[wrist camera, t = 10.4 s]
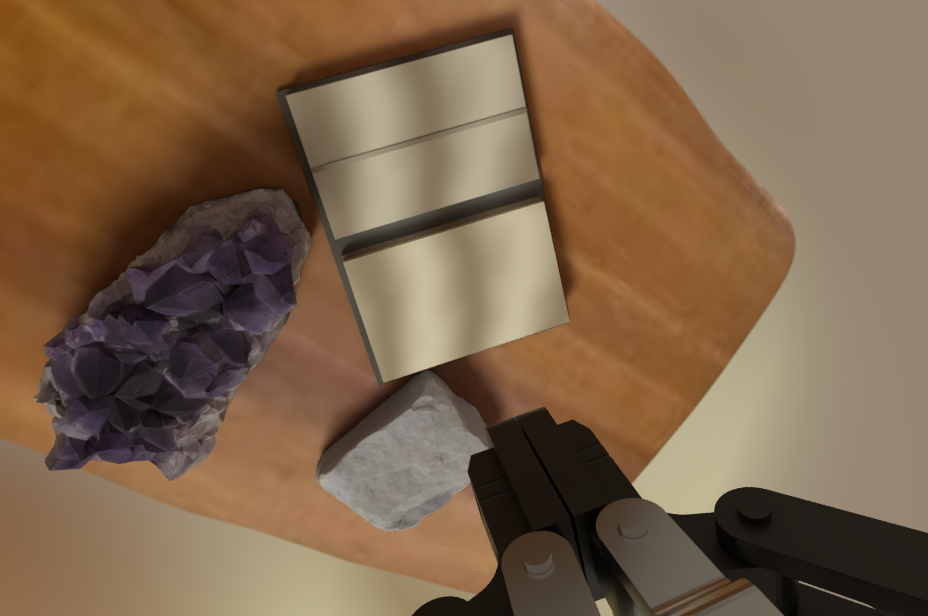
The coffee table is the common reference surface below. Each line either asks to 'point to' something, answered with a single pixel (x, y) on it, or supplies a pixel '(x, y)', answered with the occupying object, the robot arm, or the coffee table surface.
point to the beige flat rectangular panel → (458, 287)
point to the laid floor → (415, 145)
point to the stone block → (405, 455)
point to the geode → (175, 336)
